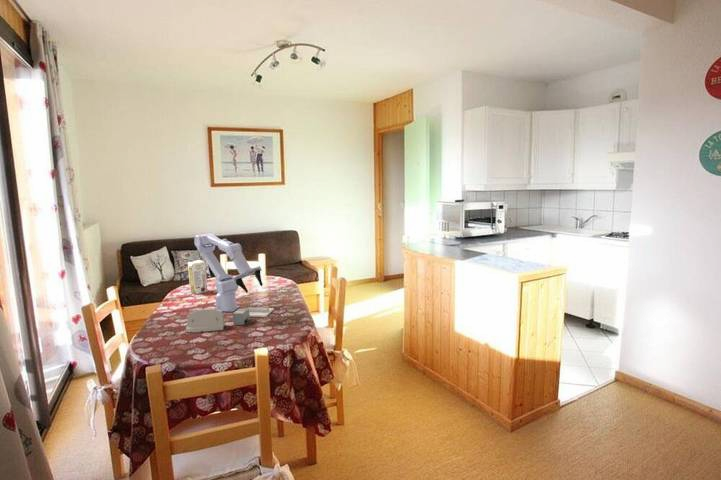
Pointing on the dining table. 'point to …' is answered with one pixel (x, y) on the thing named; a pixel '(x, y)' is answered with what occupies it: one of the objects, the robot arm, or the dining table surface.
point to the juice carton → (197, 277)
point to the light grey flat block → (205, 320)
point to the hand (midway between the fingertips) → (254, 288)
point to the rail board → (259, 311)
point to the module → (240, 316)
